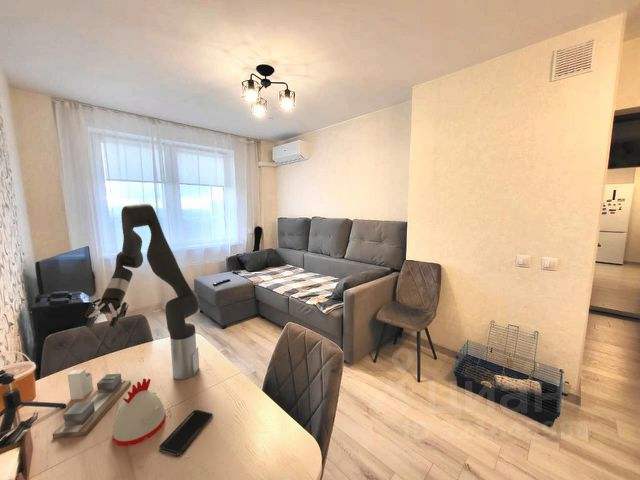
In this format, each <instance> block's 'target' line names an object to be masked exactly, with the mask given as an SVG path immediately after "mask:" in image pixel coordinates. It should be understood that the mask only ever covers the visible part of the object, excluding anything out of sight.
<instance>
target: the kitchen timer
mask: <svg viewBox="0 0 640 480" xmlns="http://www.w3.org/2000/svg"><path fill="white" fill-rule="evenodd" d="M150 383H151V379H150V378H148V379H147V378H142V383H141V381H137V383H136V384H137V385H135V384H132V388H131V390H132V391H129V390H128V391H127V394H128V395H127V396H126V398H125V397H123V398H122V399H123V401H122V403H121V404H120V406H118V407H117V408H116V413H115V417H114V421H113V424H112V430H111V431H112V432H111V433H112V434H111V436H112V441H113V443H114V444H115V445H117V446H121V447H127V446H133V445H136V444H140V443H142V442H144V441H146V440H147V439H150V438H151V437H152V436H154V435H155V434H156V433H157V432H158V431H159V430H160V429H161V428H162V426H163V425H164V424H165V422H166V417H167V416H166V410H165V407H164V404H163V402H162V401H161V399H160V397H159V395H157V392H153V391H152V390H149V387H150Z"/></svg>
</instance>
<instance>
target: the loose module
mask: <svg viewBox="0 0 640 480" xmlns="http://www.w3.org/2000/svg"><path fill="white" fill-rule="evenodd" d="M92 376H93V375H92V373H91V372H86V368H82V369H79V368H78V369H72V370H71V371H70V372H68V373H67V382H68V389H69V395H70V400H71V401H72V400H83V399H85V398H86V397H87V396H88V395H89V394H90V393H91V392H92V391H93V390H94V384H93V382H94V381H93V377H92Z"/></svg>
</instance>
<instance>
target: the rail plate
mask: <svg viewBox="0 0 640 480" xmlns="http://www.w3.org/2000/svg"><path fill="white" fill-rule="evenodd" d="M131 384H132V381H131V380H126V379H122V373H108V374H105V376H103V377H102V378H101V379H100V380H99V381H98V382H97V383H96V387H97V390H96V391H94V393H93V394H91V396H89V398H87V400H86V401H77V402H75V403H74V404H73V405H72V406H71V407H70V408H69V409H67V410H66V412H65V413H63V420H64V421H63V423H62V424H61V425H60V426H59V427H58V428H57V429H55V431H53V433H52V435H51V436H52V439H60V438H73V437H74V438H75V437H83V436H84V437H85V436H87V435H88V433H90V431H91V430H92V429H93V428H94V427H95V426H96V424H97V423H99V421H100V420H101V419H102V417H104V415H105V414H106V413H107V412H108V411H109V410H110V409H111V407H112V406H113V405H114V404H115V403H116V402H117V401H118V399H119V398H120V397H121V396H122V395H123V394H124V393H125V391H127V389H128V388H129V387H130V386H131Z"/></svg>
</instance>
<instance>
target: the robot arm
mask: <svg viewBox="0 0 640 480" xmlns="http://www.w3.org/2000/svg"><path fill="white" fill-rule="evenodd" d="M145 226H147V227H148V228H149V231H150V240H149V244H148V247H147V250H146V251H147V252H146V259H147V262H148V264H149V266H150V268H151V271H152V272H153V274H155V276H156V277H158V278H160V280H162V281H164V282H165V283H167V284H168V285H169V286H170V287H171V288H172V289H173V290H174V293H175V295H176V296H177V297H174V298H171V299H169V301H167V302H166V304H165V309H164V310H165V318H166V325H167V326H166V327H167V330H168V333H169V337H170V353H171V367H172V377H173V379H175V380H179V381H180V380H182V381H183V380H186V379H189V378H191V377H195V376H196V375H197V373H198V371H199V368H200V356H199V347H198V346H197V337H196V326H195V324H193V323H190V322H186V319H187V318H189V317H191V316H193V315H195V314H196V313H197V312H198V311H199V307H200V306H199V302H198V298H197V297H196V295H195V294H194V292H193V290H192V289H191V287H190V286H189V283H188V282H187V280H186V278H185V275H184V274H183V272H182V270H181V269H180V266H179V264H178V262H177V259H176V257H175V255H174V253H173V251H172V248H171V246H170V245H169V243H168V241H167V238H166V236H165V234H164V232H163V229H162V226H161V223H160V220H159V218H158V215H157V212H156V211H155V208H154V207H153V205H151V204H150V203H148V202H147V203H146V202H145V203H138V204H137V203H135V204H130V205H129V204H128V205H125V206H123V207H122V209H121V229H122V234H123V235H122V236H123V237H122V238H123V241H122V250H121V251H120V252H118V254H116V258H115V259H116V260H115V267H114V268H115V269H114V272H113V275H112V277H111V278H110V280H109V282H108V284H107V286H106V287H105V289H104V292H103V293H102V295H101V299H100V302H99V303H95V302H91V303H90V305H89V306H88V308H87V310H86V311H85V313H84V317H85V318H88V319H87V321H86V322H85V327H86V328H87V329H92V327H93V325H94V323H95V319H97V318H98V317H101V316H102V315H107V314H109V315H112V316H113V317H112V318H111V321H110V322H109V326H108V327H109V328H112V329H113V328H115V327H116V326H117V323H118V321H119V320H120V319H121V318H125V317H126V315H127V311H128V308H129V304H128V302H125V301H124V300H125V299H124V298H125V296H126V294H127V292H128V289H129V285H130V282H131V280H132V278H133V271H132V270H130V269H128V268H132V269H138V268H139V267H142V265H143V263H144V256H143V253H142V247H143V240H142V237H141V236H140V235H139V234H138V233H137V232H136V231H135V230H134V228H139V227H140V228H141V227H145ZM125 267H126V268H125ZM123 301H124V302H123ZM118 309H120V310H119V311H118Z"/></svg>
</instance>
